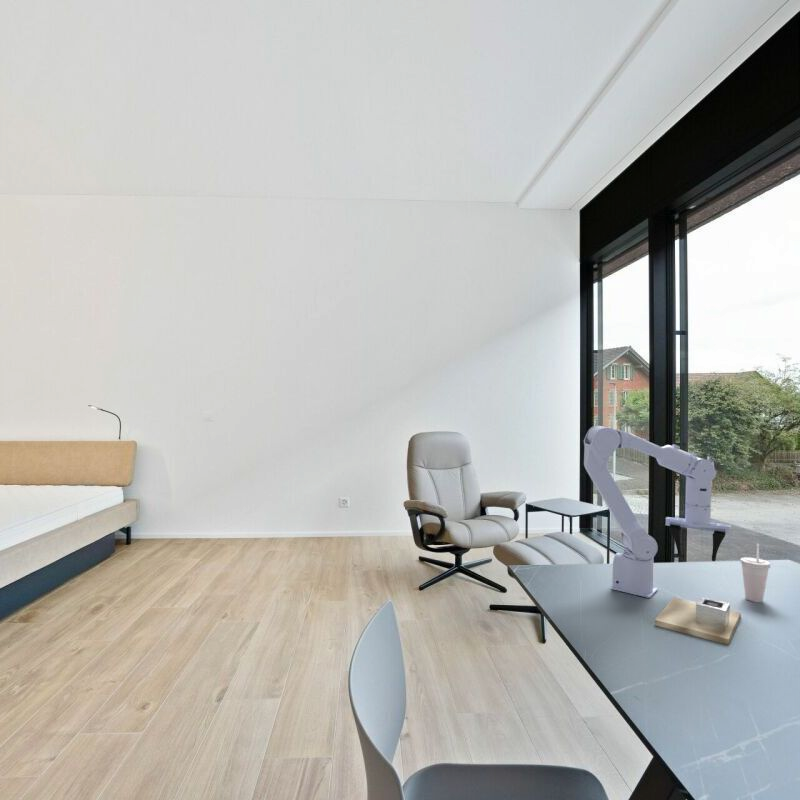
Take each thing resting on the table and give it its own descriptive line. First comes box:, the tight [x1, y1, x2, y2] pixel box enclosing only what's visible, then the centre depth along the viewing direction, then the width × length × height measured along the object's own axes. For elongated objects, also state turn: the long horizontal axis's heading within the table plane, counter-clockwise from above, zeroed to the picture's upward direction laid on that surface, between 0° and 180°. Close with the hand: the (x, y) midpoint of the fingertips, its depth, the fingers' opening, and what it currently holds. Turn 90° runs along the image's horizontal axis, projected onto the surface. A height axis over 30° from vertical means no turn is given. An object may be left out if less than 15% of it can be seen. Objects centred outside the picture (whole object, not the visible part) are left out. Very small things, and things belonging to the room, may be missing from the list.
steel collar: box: [696, 596, 731, 630], centre depth 117 cm, size 6×6×4 cm
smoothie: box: [739, 543, 771, 603], centre depth 135 cm, size 6×6×14 cm
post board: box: [654, 596, 742, 646], centre depth 120 cm, size 14×18×5 cm
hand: (696, 557), depth 138 cm, fingers open, 7 cm apart
